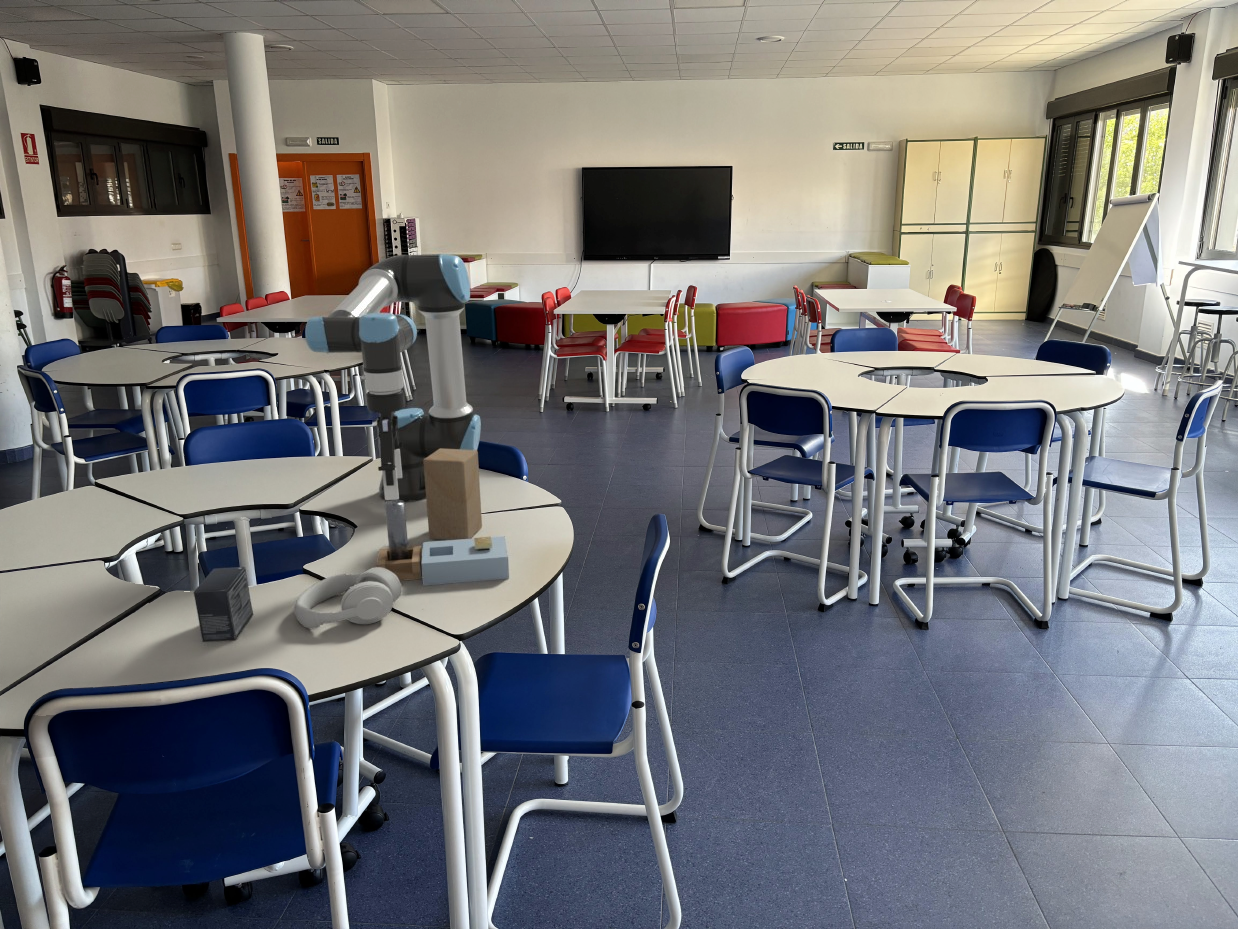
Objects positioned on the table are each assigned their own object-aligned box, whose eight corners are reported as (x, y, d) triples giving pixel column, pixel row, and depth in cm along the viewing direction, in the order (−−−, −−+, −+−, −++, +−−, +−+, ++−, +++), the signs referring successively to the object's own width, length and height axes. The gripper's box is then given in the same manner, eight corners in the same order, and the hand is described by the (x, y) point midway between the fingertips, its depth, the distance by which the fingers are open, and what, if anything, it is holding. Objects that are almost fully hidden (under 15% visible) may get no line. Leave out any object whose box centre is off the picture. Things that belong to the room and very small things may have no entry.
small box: (220, 616, 169) (212, 567, 166) (254, 614, 170) (247, 565, 167) (199, 642, 159) (191, 590, 156) (236, 641, 160) (228, 589, 157)
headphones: (414, 590, 179) (321, 601, 181) (406, 555, 177) (312, 566, 179) (387, 632, 161) (285, 644, 163) (377, 594, 159) (274, 606, 161)
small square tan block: (475, 561, 191) (474, 537, 189) (492, 560, 192) (490, 536, 190) (476, 568, 188) (474, 544, 186) (492, 567, 188) (491, 542, 187)
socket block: (424, 563, 193) (423, 542, 192) (505, 556, 197) (504, 536, 195) (423, 585, 182) (421, 563, 181) (509, 578, 185) (508, 556, 184)
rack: (381, 565, 192) (379, 548, 191) (422, 562, 194) (421, 545, 193) (378, 582, 184) (376, 565, 183) (421, 578, 185) (419, 561, 184)
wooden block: (468, 542, 205) (463, 461, 199) (428, 539, 207) (422, 459, 201) (482, 527, 214) (478, 449, 208) (444, 524, 216) (439, 447, 210)
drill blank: (392, 569, 190) (385, 500, 186) (410, 567, 191) (404, 499, 186) (390, 576, 187) (384, 506, 182) (409, 574, 187) (403, 505, 183)
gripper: (370, 378, 188) (380, 471, 195) (359, 406, 165) (370, 510, 171) (406, 376, 189) (414, 468, 196) (400, 404, 166) (409, 507, 173)
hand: (394, 488), depth 184 cm, fingers open, 13 cm apart
